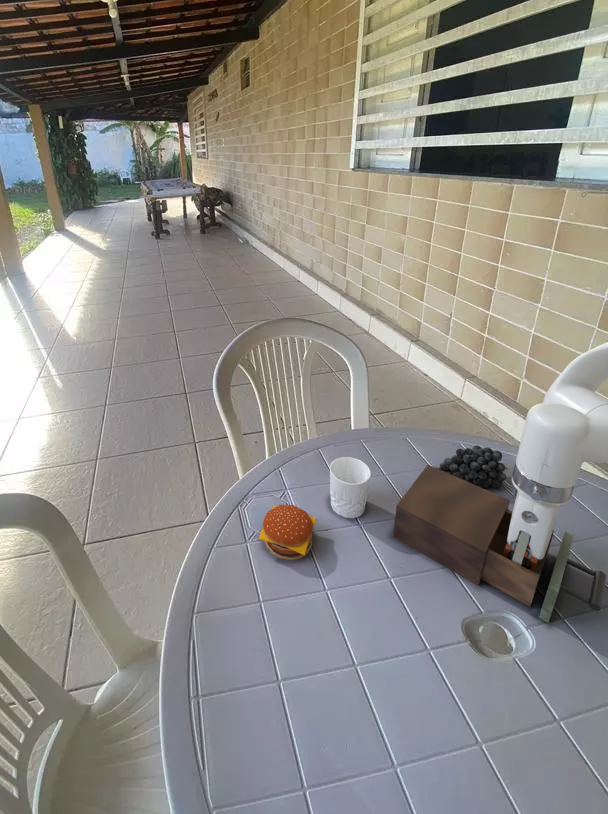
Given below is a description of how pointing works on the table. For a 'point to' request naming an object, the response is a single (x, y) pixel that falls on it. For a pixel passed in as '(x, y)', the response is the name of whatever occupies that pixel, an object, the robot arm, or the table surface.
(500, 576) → the drawer
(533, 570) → the block
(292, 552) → the hamburger
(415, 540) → the cabinet
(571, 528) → the table surface
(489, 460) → the fruit
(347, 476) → the white cup
